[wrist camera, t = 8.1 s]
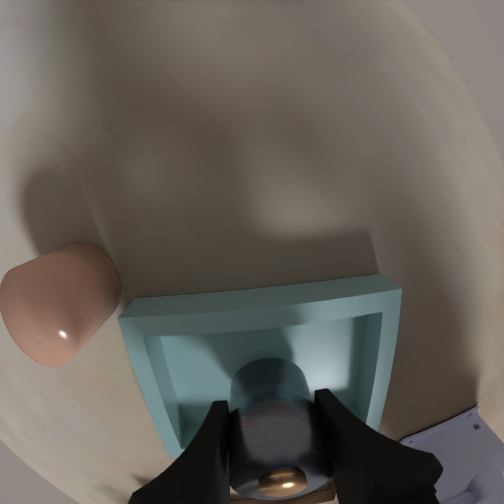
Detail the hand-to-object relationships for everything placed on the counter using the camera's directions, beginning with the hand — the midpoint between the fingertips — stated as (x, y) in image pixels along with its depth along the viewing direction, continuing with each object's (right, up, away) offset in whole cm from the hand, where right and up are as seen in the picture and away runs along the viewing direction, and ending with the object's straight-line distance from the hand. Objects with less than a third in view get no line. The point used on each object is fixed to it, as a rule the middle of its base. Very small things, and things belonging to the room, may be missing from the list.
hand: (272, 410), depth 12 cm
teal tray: (0, +1, +3) cm, 3 cm away
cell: (0, 0, +2) cm, 2 cm away
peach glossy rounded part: (-10, +6, +2) cm, 12 cm away
